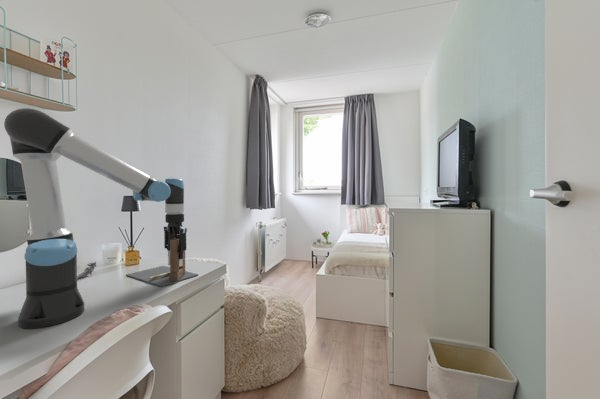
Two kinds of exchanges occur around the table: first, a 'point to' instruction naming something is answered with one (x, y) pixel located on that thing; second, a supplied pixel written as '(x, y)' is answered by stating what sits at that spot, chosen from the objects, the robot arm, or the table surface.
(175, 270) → the brown wooden bracket
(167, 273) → the kerb
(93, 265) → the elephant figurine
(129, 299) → the table surface
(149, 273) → the mat
